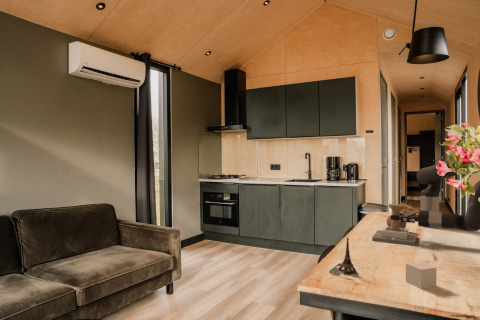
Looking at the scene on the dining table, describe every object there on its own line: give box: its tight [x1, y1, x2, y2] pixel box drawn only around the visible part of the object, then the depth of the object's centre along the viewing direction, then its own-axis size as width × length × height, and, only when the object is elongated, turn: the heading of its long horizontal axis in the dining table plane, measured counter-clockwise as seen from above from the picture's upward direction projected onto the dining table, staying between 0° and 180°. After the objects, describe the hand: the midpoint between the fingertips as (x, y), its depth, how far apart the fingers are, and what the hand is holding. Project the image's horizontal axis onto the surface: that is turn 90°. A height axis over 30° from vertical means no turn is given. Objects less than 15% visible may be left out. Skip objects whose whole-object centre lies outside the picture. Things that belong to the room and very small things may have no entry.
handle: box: [388, 203, 404, 232], centre depth 162 cm, size 5×6×15 cm
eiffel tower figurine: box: [328, 236, 359, 281], centre depth 117 cm, size 15×10×13 cm
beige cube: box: [405, 261, 438, 290], centre depth 105 cm, size 6×6×6 cm
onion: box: [386, 215, 407, 229], centre depth 178 cm, size 10×9×10 cm
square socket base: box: [371, 225, 418, 246], centre depth 162 cm, size 18×18×4 cm
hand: (391, 215), depth 163 cm, fingers open, 8 cm apart
